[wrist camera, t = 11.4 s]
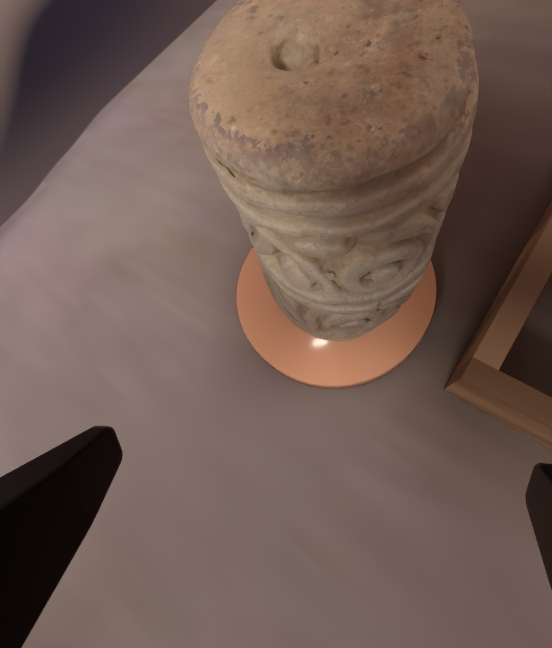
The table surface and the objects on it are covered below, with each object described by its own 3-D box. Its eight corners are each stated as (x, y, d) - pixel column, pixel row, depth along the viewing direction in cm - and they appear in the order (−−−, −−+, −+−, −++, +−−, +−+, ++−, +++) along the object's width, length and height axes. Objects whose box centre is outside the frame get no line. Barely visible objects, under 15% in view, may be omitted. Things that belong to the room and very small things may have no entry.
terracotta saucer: (303, 427, 18) (298, 425, 16) (216, 279, 21) (206, 267, 20) (474, 318, 17) (484, 307, 16) (356, 189, 21) (356, 171, 20)
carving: (329, 384, 16) (273, 255, 5) (250, 269, 19) (108, 30, 8) (442, 309, 16) (621, 25, 5) (347, 205, 19) (335, -120, 8)
